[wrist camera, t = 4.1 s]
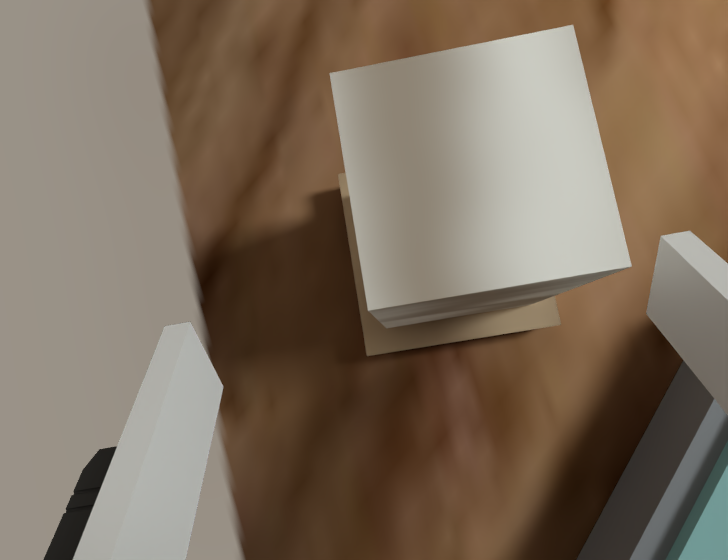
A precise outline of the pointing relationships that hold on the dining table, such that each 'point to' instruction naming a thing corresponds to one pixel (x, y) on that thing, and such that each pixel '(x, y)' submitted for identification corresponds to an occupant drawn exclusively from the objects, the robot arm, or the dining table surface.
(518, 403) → the dining table surface
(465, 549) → the dining table surface
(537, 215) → the pallet
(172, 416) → the robot arm
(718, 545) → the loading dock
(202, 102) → the dining table surface
